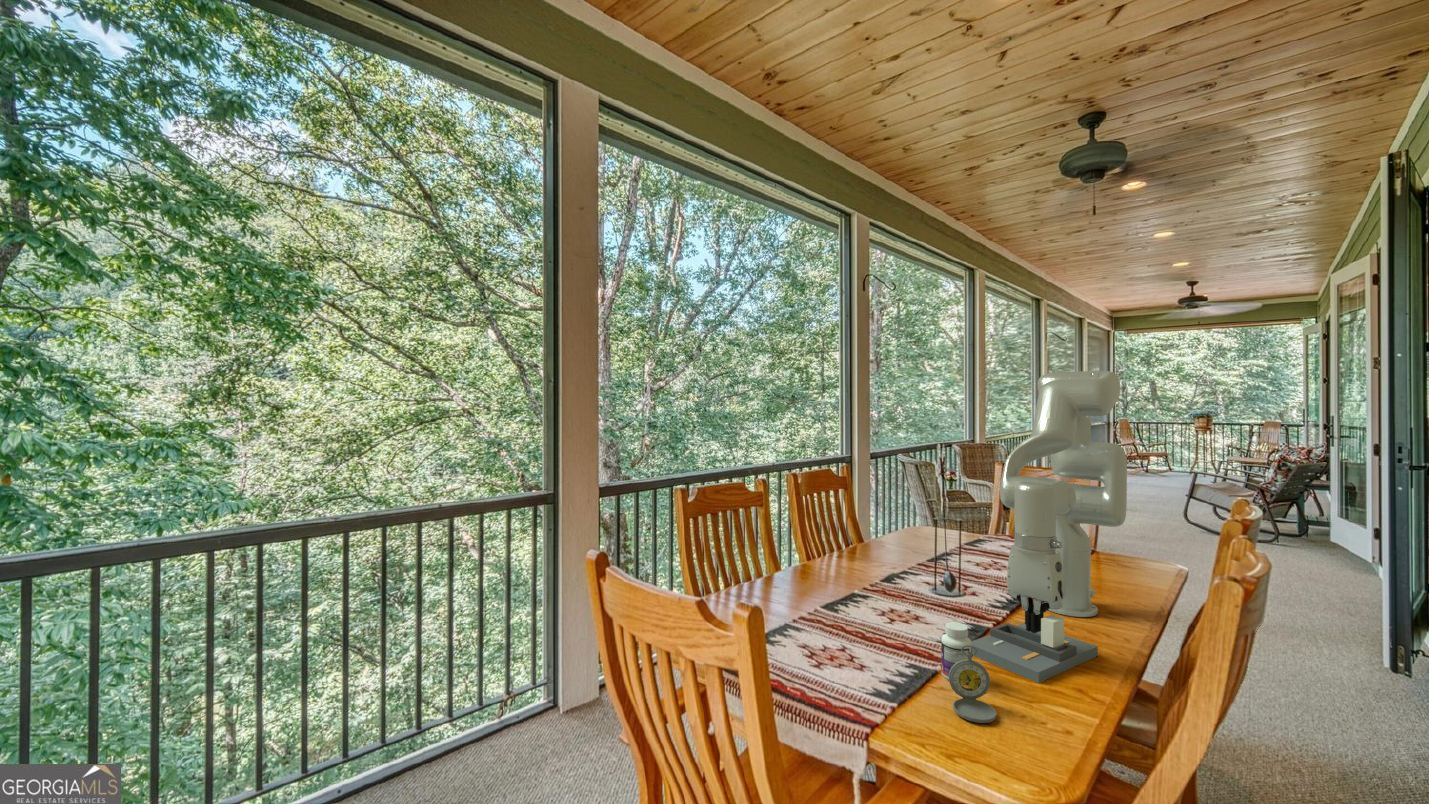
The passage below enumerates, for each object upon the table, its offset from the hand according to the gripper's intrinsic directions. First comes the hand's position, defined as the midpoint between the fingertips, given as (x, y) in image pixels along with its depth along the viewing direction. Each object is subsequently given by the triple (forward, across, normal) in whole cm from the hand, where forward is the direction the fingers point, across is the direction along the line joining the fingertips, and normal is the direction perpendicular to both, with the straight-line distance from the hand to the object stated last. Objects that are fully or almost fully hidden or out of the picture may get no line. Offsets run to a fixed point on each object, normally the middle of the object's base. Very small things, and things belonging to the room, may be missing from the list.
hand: (1034, 630), depth 119 cm
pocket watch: (+5, -7, +30) cm, 31 cm away
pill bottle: (+5, +2, +22) cm, 23 cm away
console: (+5, 0, 0) cm, 5 cm away
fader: (+3, -4, 0) cm, 5 cm away
